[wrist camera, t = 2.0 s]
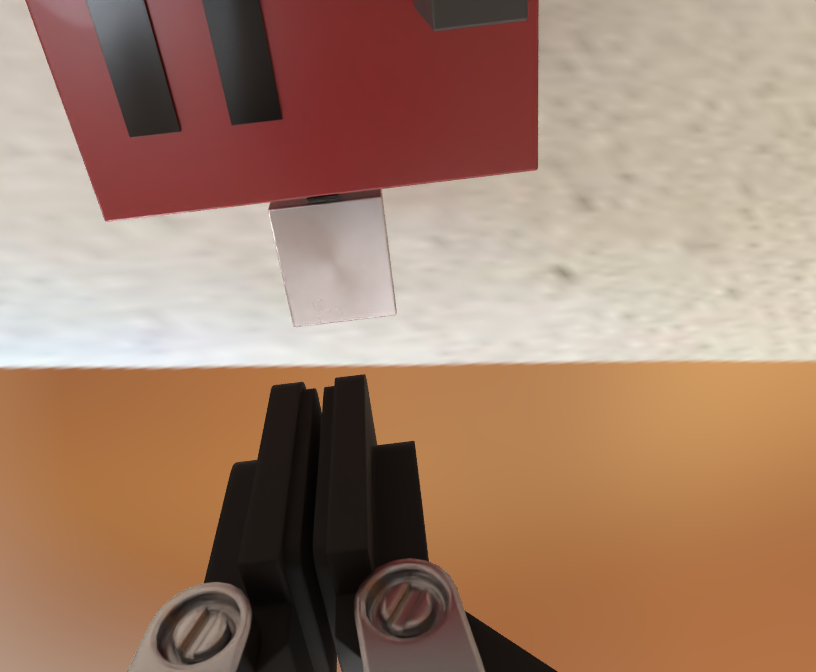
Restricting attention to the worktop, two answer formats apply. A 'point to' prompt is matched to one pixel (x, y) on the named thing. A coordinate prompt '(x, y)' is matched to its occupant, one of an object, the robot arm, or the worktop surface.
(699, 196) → the worktop surface
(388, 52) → the toaster
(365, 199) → the brushed metal plate
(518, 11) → the slider
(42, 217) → the worktop surface
